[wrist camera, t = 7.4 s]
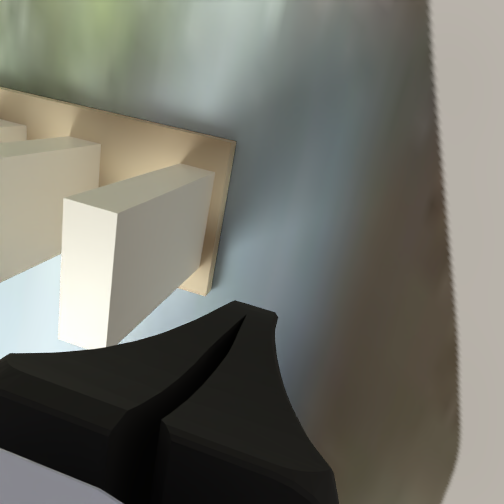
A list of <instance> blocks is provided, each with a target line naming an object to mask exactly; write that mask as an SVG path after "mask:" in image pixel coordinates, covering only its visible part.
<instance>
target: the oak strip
mask: <svg viewBox="0 0 504 504" xmlns="http://www.w3.org/2000/svg"><path fill="white" fill-rule="evenodd" d="M0 119H2V120H6V121H10V122H14V123H18V124H22V125H26V126H27V140H35V139H45V138H55V137H66V136H71V137H75V138H79V139H83V140H87V141H91V142H95V143H99V144H101V153H100V170H99V187H102V186H105V185H109V184H112V183H115V182H119V181H122V180H125V179H129V178H132V177H135V176H139V175H142V174H146V173H149V172H152V171H156V170H159V169H162V168H166V167H169V166H172V165H176V164H179V163H182V164H185V165H189V166H193V167H197V168H201V169H205V170H209V171H213V172H215V177H214V183H213V189H212V195H211V201H210V207H209V213H208V219H207V225H206V231H205V237H204V243H203V248H202V254H201V260H200V266H199V268H198V269H197V270H196V271H195V272H194V273H193V274H192V275H191V276H190V277H189V278H188V279H187V280H185V281H184V282H183V283H182V284H181V285H180V286H179V287H178V288H179V289H183V290H186V291H189V292H193V293H196V294H199V295H203V296H206V295H207V294H208V293H209V292H210V291H211V286H212V280H213V275H214V269H215V263H216V257H217V251H218V246H219V240H220V234H221V228H222V222H223V217H224V211H225V205H226V199H227V193H228V188H229V182H230V176H231V170H232V164H233V159H234V153H235V147H236V141H233V140H228V139H224V138H220V137H215V136H211V135H207V134H202V133H198V132H194V131H190V130H185V129H181V128H177V127H172V126H168V125H164V124H159V123H155V122H151V121H146V120H142V119H138V118H133V117H129V116H125V115H120V114H116V113H112V112H107V111H103V110H99V109H95V108H90V107H86V106H82V105H77V104H73V103H69V102H64V101H60V100H56V99H51V98H47V97H43V96H38V95H34V94H30V93H25V92H21V91H17V90H12V89H8V88H4V87H0ZM99 187H98V188H99Z"/></svg>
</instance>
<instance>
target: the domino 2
mask: <svg viewBox="0 0 504 504" xmlns="http://www.w3.org/2000/svg"><path fill="white" fill-rule="evenodd" d="M214 177H215V172H213V171H209V170H205V169H201V168H197V167H193V166H189V165H185V164H182V163H179V164H176V165H172V166H169V167H166V168H162V169H159V170H156V171H152V172H149V173H146V174H142V175H139V176H135V177H132V178H129V179H125V180H122V181H119V182H115V183H112V184H109V185H105V186H102V187H99V188H95V189H92V190H88V191H85V192H82V193H78V194H75V195H72V196H68V197H65V198H63V223H62V250H61V276H60V303H59V329H58V339H60V340H63V341H65V342H68V343H71V344H74V345H77V346H80V347H82V348H85V349H88V350H89V349H97V348H103V347H108V346H114V345H117V344H118V343H119V342H120V341H121V340H122V339H123V338H125V337H126V336H127V335H128V334H129V333H130V332H131V331H132V330H133V329H134V328H135V327H136V326H137V325H138V324H140V323H141V322H142V321H143V320H144V319H145V318H146V317H147V316H148V315H149V314H150V313H151V312H152V311H153V310H154V309H156V308H157V307H158V306H159V305H160V304H161V303H162V302H163V301H164V300H165V299H166V298H167V297H168V296H169V295H170V294H172V293H173V292H174V291H175V290H176V289H177V288H178V287H179V286H180V285H181V284H182V283H183V282H184V281H185V280H187V279H188V278H189V277H190V276H191V275H192V274H193V273H194V272H195V271H196V270H197V269H198V268H199V266H200V260H201V254H202V248H203V243H204V237H205V231H206V225H207V219H208V213H209V207H210V201H211V195H212V189H213V183H214Z"/></svg>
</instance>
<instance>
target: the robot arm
mask: <svg viewBox="0 0 504 504" xmlns="http://www.w3.org/2000/svg"><path fill="white" fill-rule="evenodd" d="M277 320H278V316H277V315H276V313H275V312H272V311H268V310H265V309H262V308H259V307H255V306H252V305H249V304H245V303H242V302H239V301H235V300H234V301H232V302H230V303H228V304H226V305H224V306H222V307H220V308H218V309H216V310H214V311H213V312H211V313H209V314H207V315H204V316H202V317H200V318H198V319H196V320H194V321H192V322H189V323H187V324H184V325H182V326H179V327H177V328H175V329H172V330H170V331H167V332H164V333H161V334H158V335H155V336H152V337H148V338H145V339H141V340H137V341H133V342H129V343H124V344H119V345H114V346H108V347H103V348H97V349H89V350H81V351H70V352H56V353H10V354H8V355H6V356H5V357H3V358H2V359H0V504H339V501H338V494H337V489H336V483H335V478H334V473H333V471H332V469H331V468H330V466H329V465H328V464H327V462H326V461H325V460H324V459H323V457H322V456H321V455H320V453H319V452H318V451H317V450H316V448H315V447H314V446H313V444H312V443H311V442H310V440H309V438H308V437H307V435H306V433H305V432H304V430H303V428H302V426H301V424H300V422H299V420H298V418H297V416H296V414H295V412H294V410H293V408H292V406H291V403H290V401H289V398H288V396H287V393H286V390H285V387H284V384H283V381H282V378H281V374H280V370H279V365H278V360H277V354H276V345H275V328H276V324H277Z"/></svg>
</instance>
